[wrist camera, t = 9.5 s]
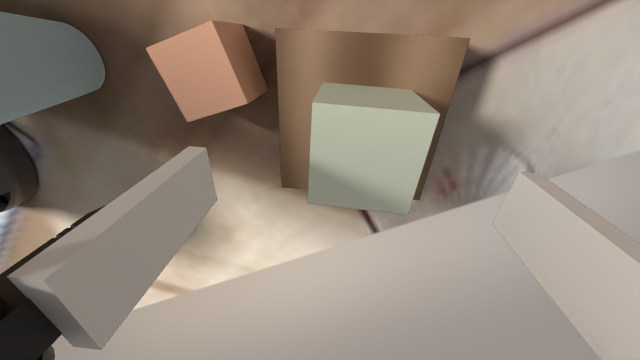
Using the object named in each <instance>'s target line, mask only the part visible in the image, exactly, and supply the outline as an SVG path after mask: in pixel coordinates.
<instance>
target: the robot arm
mask: <svg viewBox="0 0 640 360" xmlns="http://www.w3.org/2000/svg"><path fill="white" fill-rule="evenodd" d="M37 185H38V181H37V175H36V171H35V168H34V166H33V164H32V162H31V160H30V158H29V156H28V155H27V153H26V151H25V150H24V148H23V147H22V146H21V144H20V143H19V142H18V141H17V139H16V138H15V137H14V136H13V135H12V134H11V133H10V132H9V131H8V129H7V128H6V127H5V126H4V125H2V124H1V125H0V212H3V211H6V210H9V209H11V208H13V207H15V206H17V205H19V204H21V203H23V202H25V201H27V200H29V199H30V198H32V197H33V196H34V194H35V193H36V190H37ZM216 200H217V197H216V192H215V187H214V183H213V178H212V173H211V168H210V164H209V159H208V154H207V149H206V148H204V147H191V146H189V147H187V148H186V149H185V150H183V151H182V152H180V153H179V154H178V155H176V156H175V157H173V158H172V159H171V160H169V161H168V162H166V163H165V164H164V165H162V166H161V167H159V168H158V169H157V170H155V171H154V172H152V173H151V174H150V175H148V176H147V177H145V178H144V179H143V180H141V181H140V182H138V183H137V184H136V185H134V186H133V187H131V188H130V189H129V190H127V191H126V192H124V193H123V194H122V195H120V196H119V197H117V198H116V199H115V200H113V201H112V202H110V203H109V204H107V205H105V206H103V207H101V208H99V209H97V210H94V211H92V212H90V213H88V214H86V215H85V216H84V217H82V218H81V219H79V220H78V221H76V222H75V223H73V224H72V225H71V227H70V228H66V229H65V230H63V231H62V232H61V233H59V234H58V235H56V238H52V239H50V240H49V241H48V242H46V243H45V244H43V245H42V246H40V247H39V248H38V249H36V250H35V251H33V252H32V253H30V254H29V255H27V256H26V257H25V258H23V259H22V260H20V261H19V262H17V263H16V264H14V265H13V266H12V267H10V268H9V269H7V270H6V271H4V272H3V273H2V274H0V360H54V358H55V354H54V348H53V347H52V346H51V345H52V344H53V343H54V342H55V341H56V339H57V338H58V337H59V336H60V335H61V334H62V335H63V336H64V337H65V338H66V339H67V340H68V342H69V343H70V344H71V345H72V346H74V347H82V348H91V349H99V350H102V349H103V347H104V346H105V345H106V343H107V342H108V341H109V339H110V338H111V337H112V336H113V334H114V333H115V332H116V330H117V329H118V328H119V326H120V325H121V324H122V322H123V321H124V320H125V319H126V317H127V316H128V315H129V314H130V312H131V311H132V310H133V308H134V307H135V306H136V304H137V303H138V302H139V301H140V299H141V298H142V297H143V295H144V294H145V293H146V291H147V290H148V289H149V288H150V286H151V285H152V284H153V282H154V281H155V280H156V278H157V277H158V276H159V275H160V273H161V272H162V271H163V269H164V268H165V267H166V265H167V264H168V263H169V262H170V260H171V259H172V258H173V256H174V255H175V254H176V252H177V251H178V250H179V249H180V247H181V246H182V245H183V243H184V242H185V241H186V239H187V238H188V237H189V236H190V234H191V233H192V232H193V230H194V229H195V228H196V226H197V225H198V224H199V223H200V221H201V220H202V219H203V217H204V216H205V215H206V213H207V212H208V211H209V210H210V208H211V207H212V206H213V204H214V203H215V202H216ZM492 224H493V226H494V227H495V228H496V229H497V231H498V232H499V233H500V234H501V236H502V237H503V238H504V239H505V241H506V242H507V243H508V244H509V246H510V247H511V248H512V249H513V251H514V252H515V253H516V254H517V256H518V257H519V258H520V260H521V261H522V262H523V263H524V265H525V266H526V267H527V268H528V270H529V271H530V272H531V273H532V275H533V276H534V277H535V278H536V279H537V281H538V282H539V283H540V285H541V286H542V287H543V288H544V289H545V291H546V292H547V293H548V294H549V296H550V297H551V298H552V300H553V301H554V302H555V303H556V305H557V306H558V307H559V308H560V310H561V311H562V312H563V313H564V315H565V316H566V317H567V319H568V320H569V321H570V322H571V323H572V325H573V326H574V327H575V328H576V330H577V331H578V332H579V334H580V335H581V336H582V337H583V339H584V340H585V341H586V342H587V344H588V345H589V346H590V347H591V349H592V350H593V351H594V352H595V354H596V355H597V356H598V357H599V359H600V360H640V244H639V243H638V242H637V241H635V240H634V239H632V238H631V237H630V236H628V235H627V234H625V233H624V232H622V231H621V230H619V229H618V228H617V227H615V226H614V225H612V224H611V223H609V222H608V221H607V220H605V219H604V218H602V217H601V216H599V215H598V214H596V213H595V212H594V211H592V210H591V209H589V208H588V207H587V206H585V205H584V204H582V203H581V202H579V201H578V200H577V199H575V198H574V197H572V196H571V195H569V194H568V193H566V192H565V191H564V190H562V189H561V188H559V187H558V186H556V185H555V184H554V183H552V182H551V181H549V180H548V179H546V178H545V177H544V176H542V175H541V174H539V173H528V172H519V174H518V176H517V178H516V180H515V182H514V183H513V185H512V187H511V189H510V191H509V193H508V195H507V197H506V198H505V200H504V202H503V204H502V206H501V208H500V210H499V211H498V213H497V215H496V217H495V219H494V221H493V222H492Z"/></svg>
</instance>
